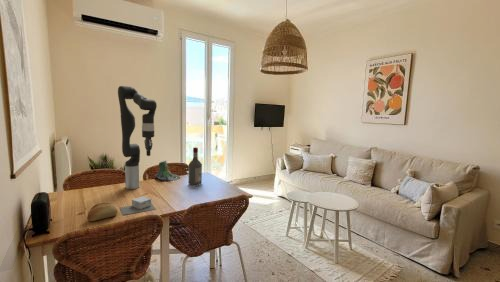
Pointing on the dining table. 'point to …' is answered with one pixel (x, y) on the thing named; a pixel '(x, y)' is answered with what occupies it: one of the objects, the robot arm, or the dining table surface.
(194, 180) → the liquor
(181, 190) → the dining table surface
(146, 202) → the medicine box
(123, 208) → the mat
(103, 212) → the bread roll
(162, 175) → the tree stump
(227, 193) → the dining table surface
